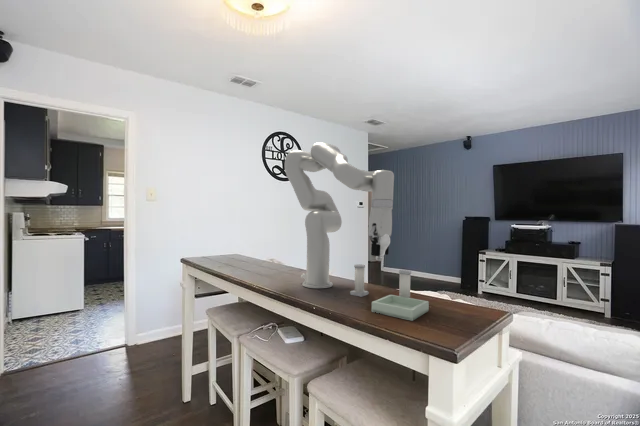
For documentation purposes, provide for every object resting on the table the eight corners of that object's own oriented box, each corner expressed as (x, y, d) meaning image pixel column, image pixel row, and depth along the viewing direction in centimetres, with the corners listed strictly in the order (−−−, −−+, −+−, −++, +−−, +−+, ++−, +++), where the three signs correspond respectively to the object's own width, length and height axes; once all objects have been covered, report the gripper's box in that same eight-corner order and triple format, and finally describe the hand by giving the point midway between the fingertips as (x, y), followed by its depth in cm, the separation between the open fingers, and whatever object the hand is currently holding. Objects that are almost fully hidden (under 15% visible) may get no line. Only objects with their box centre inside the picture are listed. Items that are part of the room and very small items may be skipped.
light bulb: (389, 263, 111) (391, 232, 111) (369, 261, 113) (371, 230, 113) (388, 261, 118) (390, 231, 118) (370, 259, 119) (372, 230, 119)
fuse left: (349, 294, 120) (350, 265, 120) (357, 292, 124) (357, 263, 124) (361, 296, 117) (362, 266, 117) (368, 294, 120) (368, 265, 121)
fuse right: (394, 303, 108) (395, 271, 109) (400, 300, 112) (401, 269, 112) (408, 306, 105) (409, 272, 105) (414, 303, 109) (414, 271, 109)
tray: (371, 311, 98) (371, 301, 98) (390, 303, 108) (390, 294, 108) (412, 321, 90) (412, 310, 90) (428, 310, 100) (428, 301, 100)
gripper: (383, 205, 124) (381, 252, 124) (360, 203, 111) (358, 255, 111) (401, 206, 119) (399, 254, 119) (380, 204, 106) (377, 258, 106)
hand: (379, 254), depth 115 cm, fingers closed on light bulb, 5 cm apart
